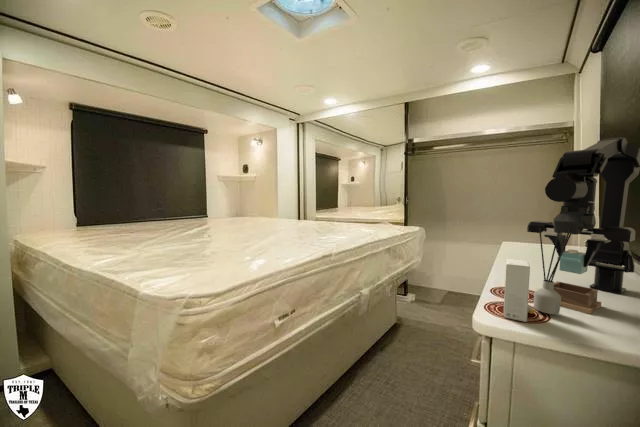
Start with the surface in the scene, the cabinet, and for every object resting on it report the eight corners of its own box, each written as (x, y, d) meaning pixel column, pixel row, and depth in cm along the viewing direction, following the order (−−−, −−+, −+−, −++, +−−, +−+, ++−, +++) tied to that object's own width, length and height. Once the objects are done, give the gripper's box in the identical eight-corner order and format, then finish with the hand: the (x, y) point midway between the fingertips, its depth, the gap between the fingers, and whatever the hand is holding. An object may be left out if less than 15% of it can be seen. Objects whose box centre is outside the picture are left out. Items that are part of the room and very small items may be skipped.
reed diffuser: (551, 307, 66) (558, 224, 65) (583, 320, 60) (591, 228, 58) (514, 309, 65) (521, 224, 63) (543, 323, 58) (551, 228, 56)
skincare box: (527, 322, 58) (530, 266, 57) (503, 317, 60) (505, 263, 60) (526, 312, 63) (528, 260, 62) (503, 308, 65) (505, 258, 65)
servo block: (568, 266, 73) (570, 246, 72) (589, 270, 69) (591, 249, 69) (556, 271, 68) (558, 250, 68) (578, 275, 65) (579, 253, 64)
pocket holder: (554, 294, 76) (555, 280, 75) (601, 306, 68) (602, 290, 68) (541, 301, 71) (542, 285, 70) (590, 314, 63) (591, 297, 63)
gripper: (520, 201, 71) (516, 260, 72) (627, 203, 55) (620, 279, 56) (537, 200, 77) (533, 256, 78) (638, 203, 61) (632, 272, 63)
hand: (573, 264), depth 69 cm, fingers closed on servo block, 4 cm apart
